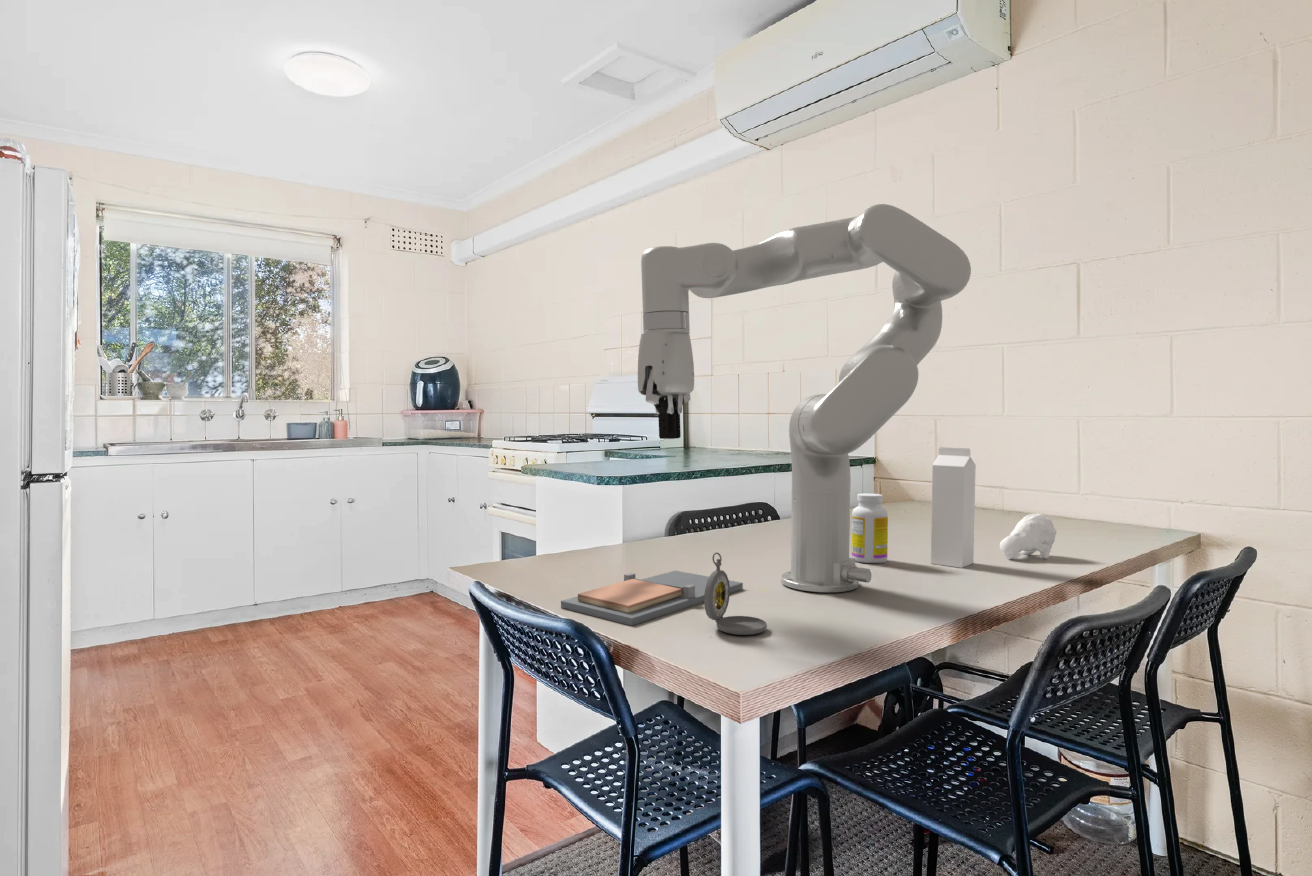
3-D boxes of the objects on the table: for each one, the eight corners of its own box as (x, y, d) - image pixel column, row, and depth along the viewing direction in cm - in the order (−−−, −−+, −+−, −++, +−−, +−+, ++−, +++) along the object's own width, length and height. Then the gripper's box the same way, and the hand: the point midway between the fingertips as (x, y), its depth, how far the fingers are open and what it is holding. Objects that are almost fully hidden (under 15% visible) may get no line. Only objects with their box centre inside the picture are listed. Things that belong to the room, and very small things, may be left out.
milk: (962, 568, 139) (964, 449, 138) (929, 563, 143) (932, 447, 142) (973, 563, 143) (976, 447, 142) (942, 558, 147) (944, 446, 146)
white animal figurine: (1059, 514, 148) (1016, 523, 143) (1060, 556, 148) (1018, 567, 143) (1031, 510, 153) (988, 519, 148) (1032, 551, 154) (990, 561, 149)
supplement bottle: (888, 558, 147) (889, 493, 146) (886, 565, 141) (887, 497, 140) (853, 556, 149) (854, 491, 149) (849, 562, 143) (850, 495, 143)
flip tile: (628, 605, 104) (628, 612, 104) (685, 587, 114) (685, 594, 114) (577, 593, 110) (577, 600, 110) (636, 577, 120) (636, 583, 120)
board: (742, 589, 122) (742, 572, 122) (631, 625, 101) (631, 605, 101) (675, 576, 131) (675, 560, 131) (560, 607, 110) (560, 589, 110)
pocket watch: (771, 637, 97) (772, 560, 96) (707, 638, 96) (707, 561, 96) (758, 619, 105) (758, 548, 104) (698, 620, 104) (698, 548, 104)
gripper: (674, 330, 130) (677, 436, 131) (618, 324, 118) (622, 441, 119) (710, 326, 126) (714, 436, 126) (656, 320, 114) (660, 441, 114)
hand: (669, 438), depth 123 cm, fingers closed
